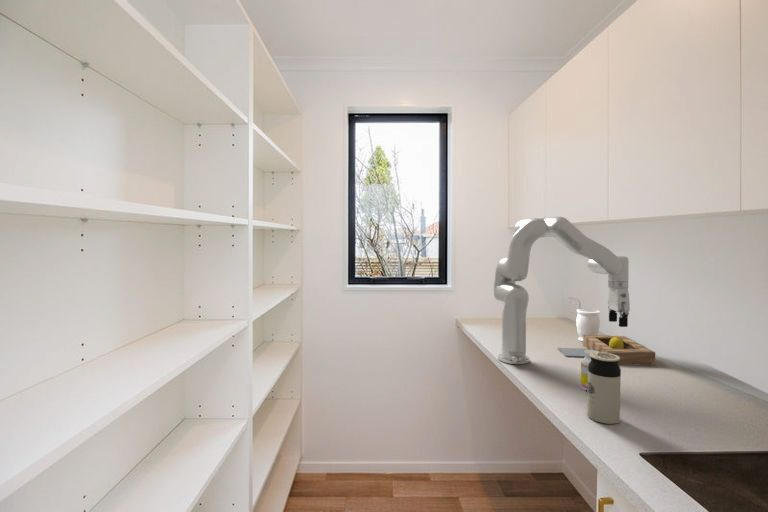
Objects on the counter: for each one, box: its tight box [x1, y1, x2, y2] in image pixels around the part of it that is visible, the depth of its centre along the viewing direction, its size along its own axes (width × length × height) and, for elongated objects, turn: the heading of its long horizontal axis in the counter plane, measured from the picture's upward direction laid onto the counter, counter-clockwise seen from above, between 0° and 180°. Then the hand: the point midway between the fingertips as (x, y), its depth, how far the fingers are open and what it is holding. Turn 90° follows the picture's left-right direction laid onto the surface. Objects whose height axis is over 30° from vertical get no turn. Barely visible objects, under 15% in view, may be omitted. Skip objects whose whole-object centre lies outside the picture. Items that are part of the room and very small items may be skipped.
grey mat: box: [557, 347, 588, 358], centre depth 172 cm, size 12×12×1 cm
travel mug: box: [586, 352, 622, 425], centre depth 110 cm, size 8×8×18 cm
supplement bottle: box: [580, 349, 599, 392], centre depth 132 cm, size 7×7×13 cm
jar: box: [575, 308, 601, 342], centre depth 193 cm, size 11×10×15 cm
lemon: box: [609, 337, 624, 349], centre depth 170 cm, size 6×6×8 cm
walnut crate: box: [582, 334, 656, 366], centre depth 170 cm, size 26×18×5 cm
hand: (617, 324), depth 170 cm, fingers open, 9 cm apart
